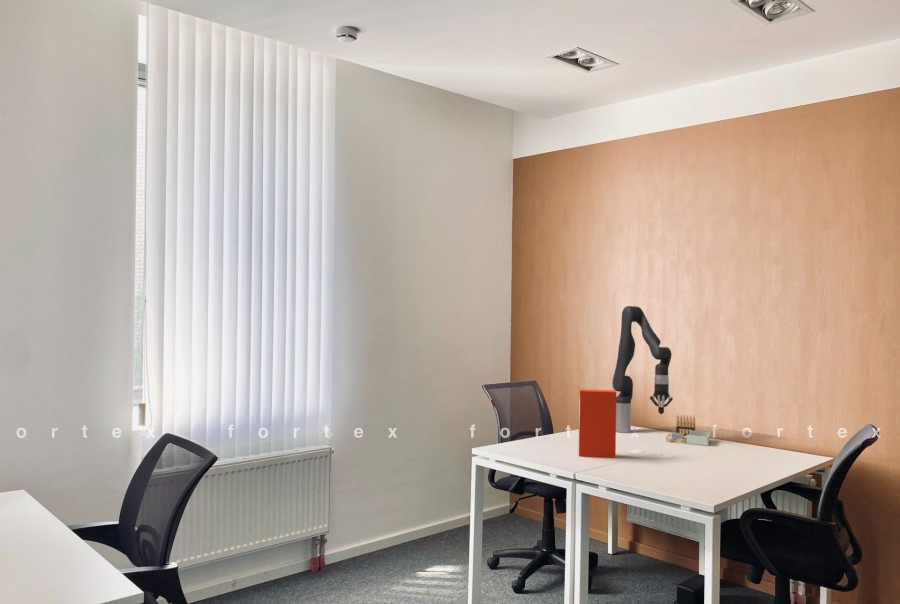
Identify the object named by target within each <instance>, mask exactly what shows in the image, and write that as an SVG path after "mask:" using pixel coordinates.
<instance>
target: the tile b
mask: <svg viewBox="0 0 900 604" xmlns="http://www.w3.org/2000/svg"><path fill="white" fill-rule="evenodd" d="M671 434H672V438H673V439H684V433H683V432H682V433H676V432H671Z"/></svg>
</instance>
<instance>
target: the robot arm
mask: <svg viewBox="0 0 900 604" xmlns="http://www.w3.org/2000/svg"><path fill="white" fill-rule="evenodd" d="M633 323H636V324H637V325H639V327H640V328H641V336H642V339H643V340H644V341H645V343H646V344H647V346H648V348H649V350H650V354H651V356H652V357H653V358H654V360H657V361H659V360H660V361H659V363H657V364H656V365H655V367H654V368H655V369H654V390H653V391H654V392H653V395H651V396H649V399H650V400H651V402H652V403H653V405H655V407H658V409H657V413H659V415H663V414H664V412H665V407H668V406H669V405H670V403H672V401H673V400H674V397H672V396H671V395H670V392H669V386H670V385H669V384H670V380H669V367H670V363H671V361H672V360H671V359H672V350H671V348H669V347H668V346H660V345H661V339H660V338H659V337H658V335H657V333H655V331H654V329H653V328H652V326H651V324H650V323H649V320H648V319H647V317H646V315H645V313H644V311H643V309H642V308H641V307H640V306H637V305H636V306H635V305H632V306H631V305H627V306H624V308H623V309H622V312H621V328H620V338H619V343H618V350H617V351H618V353H617V359H616V365H615V368H614V373H613V377H612V388H613V390H615V391H616V392H620V393H619V394H618V395H616V433H623V434H624V433H626V434H627V433H631V432H632V429H631V427H632V425H631V424H632V423H631V421H632V420H631V419H632V418H631V417H632V413H631V412H632V399H633V395H634V394H633V393H634V382H633V379H632V377H631V376H629V375H626V372H627V369H628V367H629V365H630V363H631V361H632V360H633V358H634V355H635V352H636V351H635V350H636V341H635V339H634V336H633V333H632V326H633ZM655 399H656V400H655ZM667 399H668V401H667ZM666 401H667V402H666ZM665 402H666V403H665Z"/></svg>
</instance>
